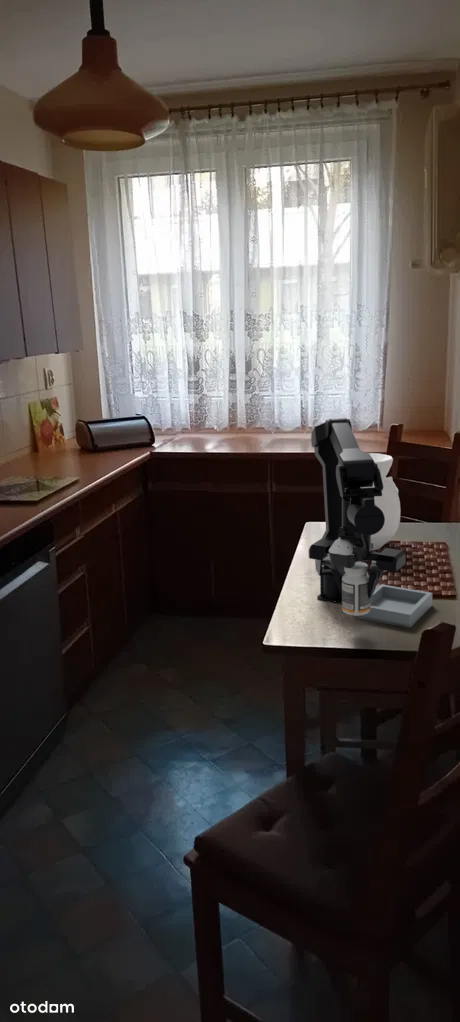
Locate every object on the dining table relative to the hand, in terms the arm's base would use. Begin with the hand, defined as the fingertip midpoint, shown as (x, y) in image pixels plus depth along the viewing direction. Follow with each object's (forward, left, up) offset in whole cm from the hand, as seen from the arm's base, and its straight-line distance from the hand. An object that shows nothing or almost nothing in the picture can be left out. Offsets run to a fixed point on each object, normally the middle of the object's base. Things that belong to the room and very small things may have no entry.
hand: (356, 594), depth 159 cm
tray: (+3, +14, -8) cm, 16 cm away
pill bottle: (0, 0, -4) cm, 4 cm away
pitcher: (-21, +55, -8) cm, 59 cm away
